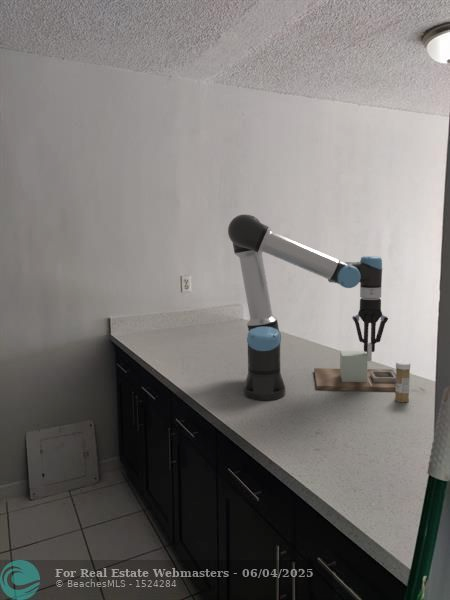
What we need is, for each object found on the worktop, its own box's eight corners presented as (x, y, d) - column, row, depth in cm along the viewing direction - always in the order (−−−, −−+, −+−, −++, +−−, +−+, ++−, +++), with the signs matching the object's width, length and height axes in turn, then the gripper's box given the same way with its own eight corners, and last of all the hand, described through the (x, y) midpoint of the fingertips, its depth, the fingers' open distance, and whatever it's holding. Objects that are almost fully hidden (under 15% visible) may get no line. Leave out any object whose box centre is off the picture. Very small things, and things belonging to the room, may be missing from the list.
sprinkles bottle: (392, 398, 164) (393, 360, 162) (405, 397, 164) (406, 360, 162) (398, 403, 160) (399, 364, 157) (411, 402, 160) (413, 363, 158)
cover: (342, 381, 178) (342, 356, 177) (340, 375, 186) (340, 350, 184) (366, 382, 177) (367, 356, 175) (363, 375, 185) (364, 350, 183)
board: (317, 389, 175) (317, 370, 174) (314, 371, 196) (314, 354, 195) (405, 391, 170) (405, 371, 169) (392, 373, 192) (392, 355, 191)
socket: (373, 382, 176) (373, 377, 176) (370, 375, 184) (370, 370, 184) (396, 383, 175) (396, 377, 175) (392, 376, 183) (392, 371, 183)
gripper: (353, 299, 173) (352, 362, 177) (390, 299, 171) (388, 363, 175) (351, 296, 180) (349, 357, 184) (386, 296, 179) (384, 357, 182)
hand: (368, 360), depth 179 cm, fingers closed
